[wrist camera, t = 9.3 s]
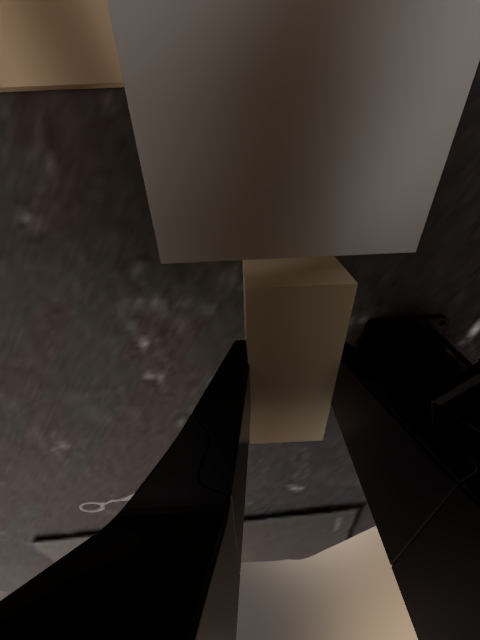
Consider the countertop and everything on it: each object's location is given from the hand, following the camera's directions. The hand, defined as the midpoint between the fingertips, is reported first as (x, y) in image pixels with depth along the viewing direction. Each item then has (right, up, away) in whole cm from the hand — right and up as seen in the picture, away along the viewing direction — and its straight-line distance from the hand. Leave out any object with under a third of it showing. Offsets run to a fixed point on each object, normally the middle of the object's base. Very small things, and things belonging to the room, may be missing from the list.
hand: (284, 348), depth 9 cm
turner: (0, +3, -1) cm, 3 cm away
